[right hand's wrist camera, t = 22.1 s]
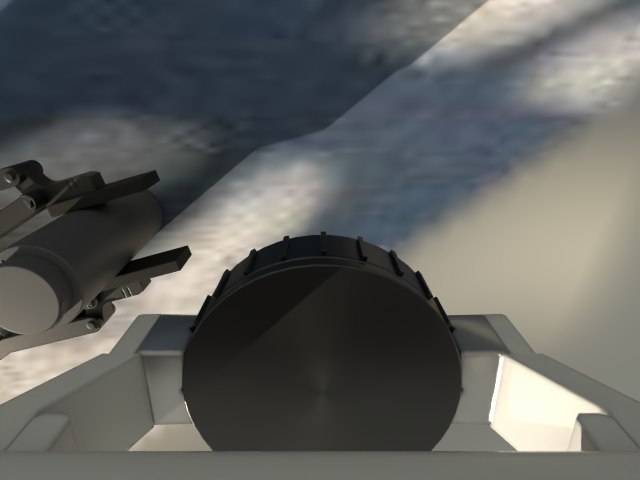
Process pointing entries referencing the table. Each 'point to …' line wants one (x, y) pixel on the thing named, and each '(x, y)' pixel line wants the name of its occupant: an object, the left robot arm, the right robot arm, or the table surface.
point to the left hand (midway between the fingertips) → (167, 220)
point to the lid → (322, 353)
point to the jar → (72, 261)
